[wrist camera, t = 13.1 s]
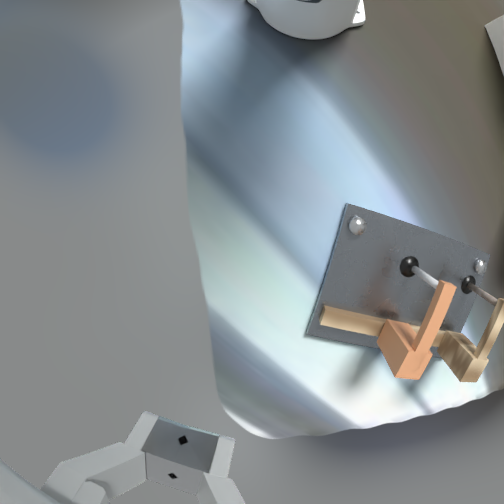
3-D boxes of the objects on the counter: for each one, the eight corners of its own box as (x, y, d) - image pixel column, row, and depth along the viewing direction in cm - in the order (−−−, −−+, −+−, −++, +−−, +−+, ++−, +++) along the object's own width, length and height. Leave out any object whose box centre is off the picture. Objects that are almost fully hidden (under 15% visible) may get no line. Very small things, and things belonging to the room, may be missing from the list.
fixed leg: (345, 240, 38) (366, 260, 28) (477, 281, 37) (514, 304, 27) (317, 324, 42) (326, 365, 31) (448, 348, 40) (476, 382, 30)
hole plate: (346, 202, 38) (349, 203, 36) (486, 253, 37) (493, 256, 35) (306, 330, 43) (307, 337, 41) (444, 355, 42) (449, 361, 40)
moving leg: (405, 259, 37) (438, 281, 27) (427, 265, 37) (462, 288, 27) (374, 338, 40) (394, 377, 30) (396, 342, 40) (418, 379, 30)
